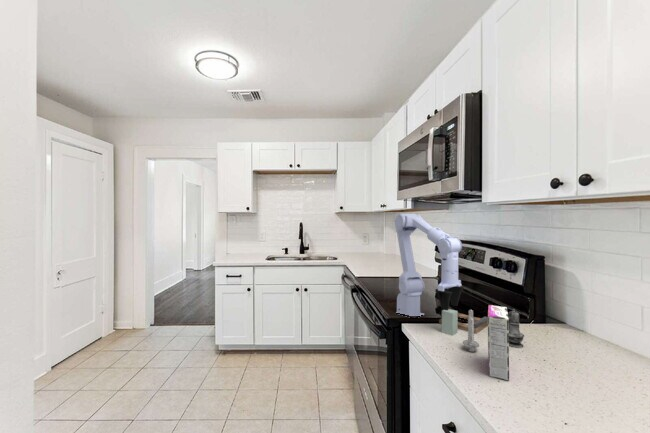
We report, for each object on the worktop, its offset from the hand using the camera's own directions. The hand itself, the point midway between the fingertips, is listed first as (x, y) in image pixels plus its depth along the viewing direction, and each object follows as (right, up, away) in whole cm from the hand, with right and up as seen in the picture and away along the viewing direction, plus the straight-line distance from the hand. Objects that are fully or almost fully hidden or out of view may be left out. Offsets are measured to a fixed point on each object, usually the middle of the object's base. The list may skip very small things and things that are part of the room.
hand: (449, 307), depth 109 cm
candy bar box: (+2, -9, -26) cm, 28 cm away
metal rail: (+14, -8, +4) cm, 16 cm away
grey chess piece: (+17, -10, -10) cm, 22 cm away
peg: (0, -9, 0) cm, 9 cm away
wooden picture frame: (+10, -9, +9) cm, 16 cm away
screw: (+1, -9, -14) cm, 17 cm away
